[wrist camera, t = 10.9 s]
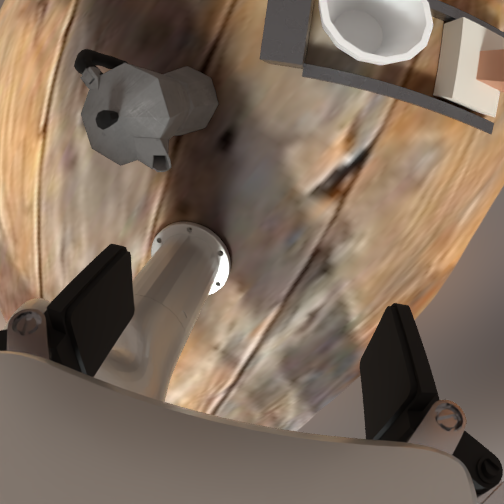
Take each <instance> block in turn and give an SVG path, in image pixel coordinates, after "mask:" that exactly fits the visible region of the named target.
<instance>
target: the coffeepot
mask: <svg viewBox="0 0 504 504" xmlns="http://www.w3.org/2000/svg"><path fill="white" fill-rule="evenodd" d="M95 65H99V66H103V67H106V68H108V69H112V70H110V71H108V72H106V73H104V74H103V73H102V72H101V71H100V69H99V68H98V67H97V66H95ZM74 67H75V69H76V70H77V71H78V72H79V73H80V74H82V75H83V76H82V77H81V79H82V81H83V82H84V83H85V84H86V86H87V87H88V88H89V89H90V90H89V92H88V95H87V98H86V101H85V103H84V106H83V109H82V112H81V116H82V119H83V123H84V126H85V129H86V132H87V135H88V138H89V141H90V144H91V147H92V149H94V150H95V151H97V152H99V153H100V154H102V155H104V156H105V157H107V158H109V159H110V160H112V161H114V162H115V163H117V164H119V165H120V166H121V165H124V164H127V163H130V162H133V161H136V160H139V161H140V162H142V163H144V164H145V165H147V166H148V167H150V168H151V169H154V170H156V171H157V172H165V171H168V170H169V169H170V168H171V161H170V158H169V156H168V142H169V139H170V138H171V137H173V136H176V135H183V134H186V133H190V132H193V131H197V130H200V129H204V128H206V126H207V124H208V122H209V121H210V119H211V117H212V116H213V114H214V111H215V110H216V108H217V106H218V100H217V97H216V91H215V88H214V86H213V83H212V79H211V78H210V77H208V76H206V75H205V74H203V73H201V72H199V71H197V70H194V69H192V68H190V67H188V66H186V67H183V68H180V69H177V70H174V71H171V72H168V73H165V74H160V73H158V72H154V71H151V70H148V69H144V68H141V67H138V66H134V65H130V64H128V63H127V62H126V61H123V60H120V59H117V58H115V57H112V56H108V55H104V54H101V53H98V52H95V51H92V50H88V49H84V50H82V51H81V52H80V53H79V54H78V55H77V58H76V61H75V65H74Z"/></svg>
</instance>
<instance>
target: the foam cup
mask: <svg viewBox="0 0 504 504" xmlns="http://www.w3.org/2000/svg"><path fill="white" fill-rule="evenodd" d="M319 11H320V17H321V22H322V28H323V29H324V30H325V32H326V33H327V34H328V36H329V37H330V39H331V40H332V41H333V43H334V44H335V46H336V47H337V48H339V49H340V50H342V51H343V52H345V53H346V54H348V55H350V56H351V57H353V58H354V59H356V60H358V61H363V62H368V63H372V64H377V65H386V64H390V63H395V62H400V61H405V60H410V59H411V58H413V57H414V56H415V55H416V54H417V53H418V52H420V51H421V50H422V49H423V48H424V47H426V46H427V43H428V40H429V37H430V34H431V31H432V28H433V22H432V16H431V11H430V6H429V3H428V1H427V0H319Z"/></svg>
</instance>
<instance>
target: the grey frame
mask: <svg viewBox="0 0 504 504" xmlns="http://www.w3.org/2000/svg"><path fill="white" fill-rule="evenodd" d="M427 1H428V3H429V6H430V11H431V16H433V17H435V18H438V19H440V20H443V21H445V22H447V23H448V22H451V21H453V20H456V19H459V18H462V17H465V18H467V19H469V20H471V21H473V22H475V23H477V24H479V25H481V26H483V27H485V28H487V29H489V30H491V31H493V32H494V33H496V34H498V35H500V36H502V37H503V38H504V32H502V31H500V30H499V29H497V28H495V27H493V26H491V25H490V24H488V23H486V22H484V21H482V20H480V19H478V18H476V17H474V16H472V15H470V14H468V13H466V12H464V11H461V10H459V9H457V8H455V7H453V6H450V5H448V4H446V3H443V2H441V1H438V0H427ZM313 6H314V0H268V5H267V12H266V18H265V25H264V32H263V39H262V46H261V53H260V59H261V60H263V61H265V62H267V63H269V64H274V65H281V66H288V67H294V68H300V69H303V74H302V77H306V78H312V79H317V80H322V81H327V82H332V83H336V84H341V85H345V86H350V87H354V88H358V89H362V90H366V91H370V92H373V93H377V94H381V95H384V96H388V97H391V98H395V99H398V100H401V101H404V102H408V103H411V104H414V105H417V106H420V107H423V108H426V109H428V110H431V111H434V112H437V113H440V114H442V115H445V116H448V117H450V118H453V119H455V120H458V121H460V122H463V123H465V124H468V125H470V126H472V127H475V128H477V129H479V130H482V131H484V132H487V133H489V134H492V130H493V125H494V123H492V122H490V121H488V120H486V119H484V118H482V117H479V116H477V115H475V114H473V113H470V112H468V111H466V110H463V109H461V108H458V107H456V106H453V105H451V104H448V103H446V102H443V101H441V100H438V99H435V98H433V97H430V96H427V95H424V94H421V93H418V92H415V91H412V90H409V89H406V88H403V87H400V86H397V85H393V84H390V83H387V82H383V81H379V80H376V79H372V78H368V77H365V76H361V75H357V74H352V73H348V72H344V71H339V70H335V69H330V68H325V67H320V66H315V65H309V64H305V61H306V54H307V47H308V41H309V34H310V27H311V20H312V13H313Z"/></svg>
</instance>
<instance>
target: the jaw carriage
mask: <svg viewBox="0 0 504 504" xmlns="http://www.w3.org/2000/svg"><path fill="white" fill-rule="evenodd" d="M500 91H501V92H504V38H503V37H502V36H500V35H498V34H496V33H494V32H493V31H491V30H489V29H487V28H485V27H483V26H481V25H479V24H477V23H475V22H473V21H471V20H469V19H467V18H465V17H462V18H459V19H456V20H453V21H451V22H448V23H445V24H444V27H443V36H442V44H441V51H440V58H439V65H438V71H437V77H436V83H435V88H434V93H433V95H434V96H437V97H439V98H442V99H445V100H447V101H450V102H452V103H455V104H457V105H460V106H462V107H464V108H467V109H469V110H471V111H474V112H478V113H482V114H485V115H488V116H492V117H495V115H496V111H497V106H498V100H499V95H500Z"/></svg>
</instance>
